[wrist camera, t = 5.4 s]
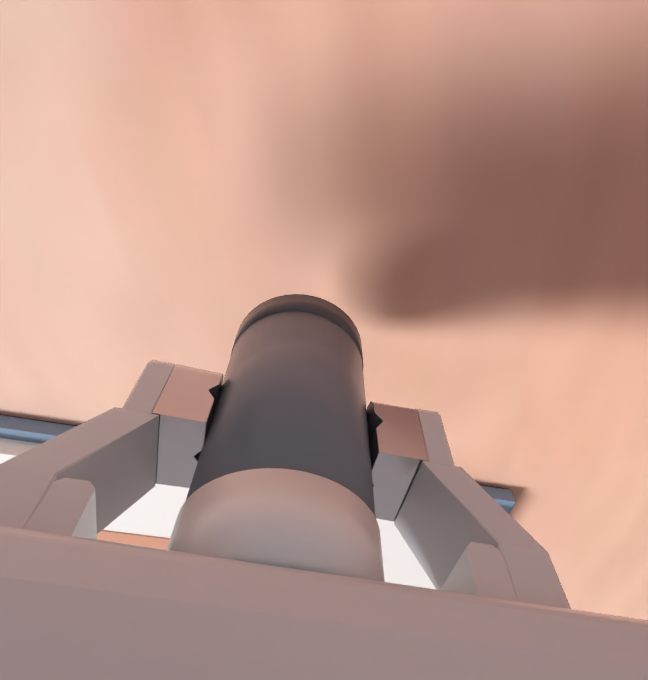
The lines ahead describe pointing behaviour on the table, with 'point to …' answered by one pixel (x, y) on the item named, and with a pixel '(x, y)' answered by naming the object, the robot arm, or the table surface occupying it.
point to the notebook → (166, 501)
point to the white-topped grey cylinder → (288, 449)
